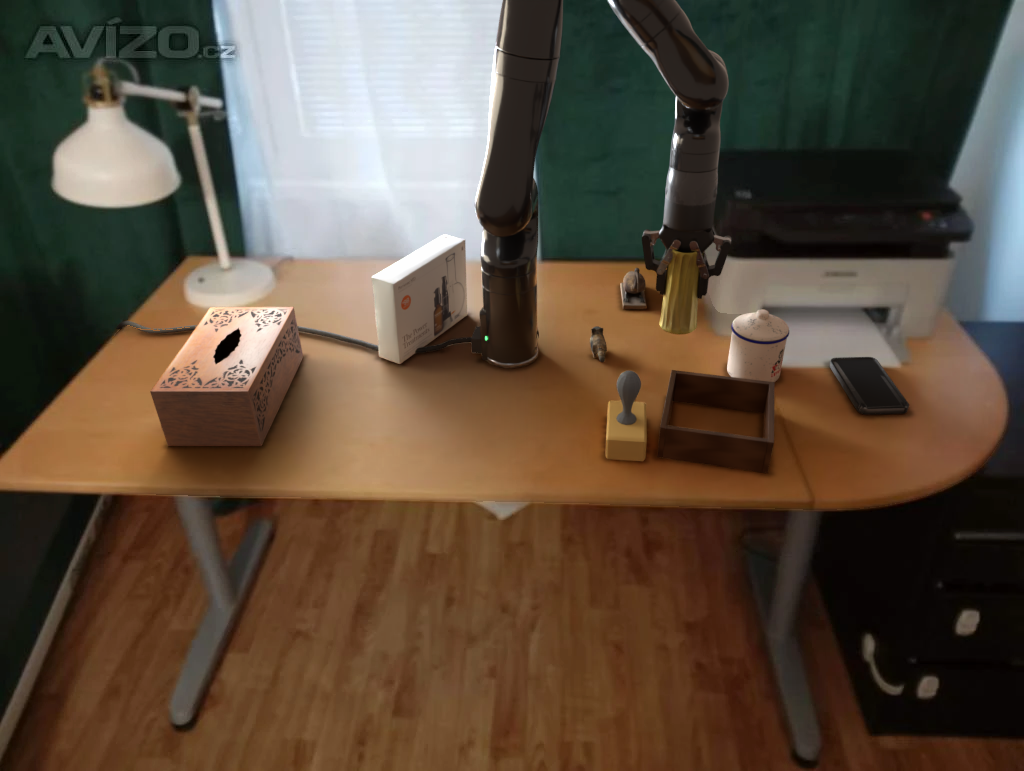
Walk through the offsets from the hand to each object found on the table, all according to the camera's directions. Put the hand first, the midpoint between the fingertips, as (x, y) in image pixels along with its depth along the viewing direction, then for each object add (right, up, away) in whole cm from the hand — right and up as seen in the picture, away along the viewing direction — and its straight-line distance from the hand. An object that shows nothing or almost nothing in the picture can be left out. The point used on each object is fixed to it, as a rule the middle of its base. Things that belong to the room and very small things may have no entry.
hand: (680, 294), depth 132 cm
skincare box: (-43, -6, +18) cm, 47 cm away
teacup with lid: (+13, -12, +6) cm, 19 cm away
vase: (0, -5, +3) cm, 6 cm away
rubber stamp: (-10, -23, -9) cm, 27 cm away
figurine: (-4, +1, +27) cm, 27 cm away
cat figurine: (-12, -10, +11) cm, 19 cm away
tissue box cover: (-72, -17, +2) cm, 74 cm away
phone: (+30, -15, 0) cm, 34 cm away
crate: (+3, -22, -9) cm, 24 cm away
